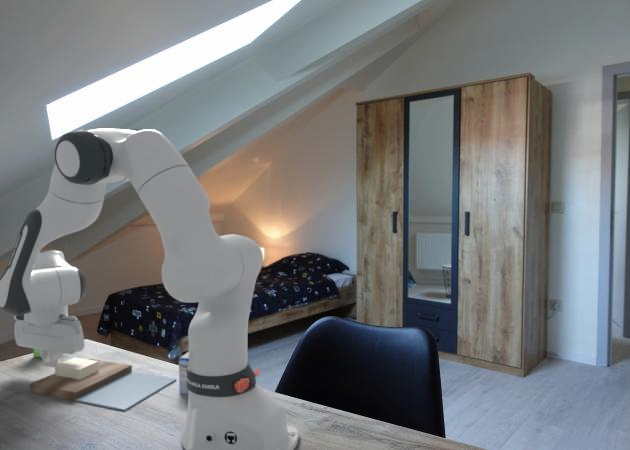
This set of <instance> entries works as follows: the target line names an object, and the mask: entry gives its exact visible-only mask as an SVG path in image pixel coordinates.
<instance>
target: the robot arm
mask: <svg viewBox="0 0 630 450" xmlns="http://www.w3.org/2000/svg"><path fill="white" fill-rule="evenodd" d="M54 160H55V163H54V166H53V169H52V172H51V178H50V181H49V188H48V192H47V195H46V196H45V198H44V200H43V201H42V202H41V204H39V206H38V207H36V208H35V209H34V210H31V211H30V212H28V214H27V215H26V217H25V218H24V221H23V222H22V225H21V228H20V230H19V233H18V235H17V238H16V241H15V243H14V247H13V249H12V251H11V255H10V257H9V260H8V262H7V265H6V267H5V270H4V272H3V273H2V275H1V276H0V309H1V310H2V311H4V312H5V313H8V314H10V315H11V316H13V319H14V320H15V322H14V341H15V343H16V345H17V346H18V347H22V348H23V347H24V348H29V349H33V348H35V349H39V353H40V355H41V357H40V358H41V359H42V361H43V362H42V363H43V364H42V365H43V366H44V367H49V368H55V365H57V364H59V363H58V359H59V357H60V355H61V354H68V355H75V354H77V353H80V352H82V351H83V350H84V348H85V337H84V331H83V327H82V324H81V321H80V320H79V319H78V318H77V316H75V315H69V312H68V311H69V307H68V306H71V305H75V304H77V303H79V302H80V301H81V300H82V299H83V298H84V297H85V295H86V293H87V287H88V285H87V278H86V274H85V273H84V272H83V271H82V270H81V269H80V268H78V267H77V266H72V265H71V264H69V262H68V261H66V258H65V254H64V253H63V251H61V250H57V249H51V250H42V249H43V248H44V247H45V246H47V244H49V243H51V242H53V241H55V240H57V239H60V238H62V237H63V236H68V235H70V234H74V233H77V232H79V231H82V230H84V229H86V228H89V226H91V225H92V224H93V223H95V222H96V220H97V219H98V218H99V216H100V213H102V210H103V204H104V200H105V195H106V191H107V190H106V189H107V184H112V183H113V184H114V183H115V184H118V183H119V184H120V183H126V182H130V183H131V185H132V186H133V188H134V189H135V192H136V193H137V195H138V196H139V198H140V200H141V201H142V204H143V205H144V207H145V208H146V210H147V212H148V214H149V215H150V217H151V219H152V220H153V222H154V223H155V226H156V227H157V230H158V233H159V234H160V238H161V242H162V245H163V250H164V260H163V263H162V265H161V281H162V284H163V287H164V288H165V290H166V292H167V293H168V294H169V295H170V296H171V297H172V298H173V299H175V300H176V301H178V302H181V303H187V304H188V303H189V304H190V303H198V304H197V305H198V306H197V309H196V311H195V314H194V316H193V318H192V319H191V321H190V323H189V325H188V326H189V327H188V331H187V332H188V333H187V334H188V336H187V337H188V352H189V366H188V367H187V388H188V392H189V394H188V396H187V397H188V399H187V409H186V418H185V423H184V429H183V431H182V432H183V433H182V435H181V438H180V440H181V441H180V443H181V445H182V447H183V449H184V450H294V449H296V447H297V445H298V443H299V430H298V428H296V427H294V426H291V425H288V422H287V415H286V411H285V408H284V407H283V405H282V404H281V403H280V402H279V401H278V400H276V399H275V398H274V397H273V396H271V395H270V394H269V393H268V392H267V391H266V390H264V389H263V387H261V386H260V385H259V384H258V383H257V379H256V378H257V377H258V376H259V375H260V374H261V373H260V370H261V369H260V368H257V369H256V370H254V371H253V369H252V367H251V365H250V363H249V361H248V331H249V330H248V329H249V327H248V326H249V318H250V313H251V306H252V301H253V297H254V292H255V286H256V283H257V279H258V276H259V273H260V271H261V270H262V267H263V263H264V257H263V256H264V255H263V251H262V250H261V249H262V248H261V247H260V246H259V244H258V243H257V242H256V241H255V240H254V239H252V238H250V237H248V236H244V235H242V234H241V235H239V234H236V233H232V234H224V235H219V234H218V233H217V231H216V229H215V227H214V225H213V222H212V218H211V216H210V208H211V200H210V197H209V196H208V194H207V192H206V191H205V190H204V188H203V186H202V184H201V183H200V182H199V180H198V178H197V177H196V175H195V173H194V172H193V170H192V168H191V167H190V165H189V164H188V162H187V161H186V160H185V158H184V157H183V155H182V154H181V152H179V151H178V149H177V148H176V147H175V146H174V144H173V143H172V142H171V141H170V140H169V139H168V138H167V137H166V136H165V134H163V133H162V132H160V131H158V130H156V129H151V128H150V129H149V128H148V129H147V128H146V129H132V130H131V129H125V128H124V129H123V128H121V129H120V128H111V127H110V128H109V127H106V128H93V129H88V130H85V129H77V130H74V131H70V132H67V133H65V134H63V135H62V136H60V137H59V139H58V141H57V142H56V145H55V149H54ZM41 250H42V251H41ZM49 351H50V353H49ZM50 355H51V356H50Z"/></svg>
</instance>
